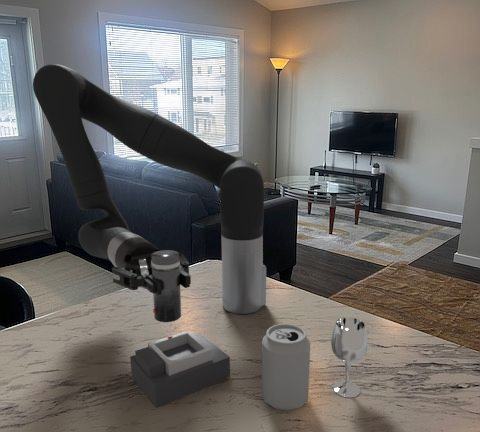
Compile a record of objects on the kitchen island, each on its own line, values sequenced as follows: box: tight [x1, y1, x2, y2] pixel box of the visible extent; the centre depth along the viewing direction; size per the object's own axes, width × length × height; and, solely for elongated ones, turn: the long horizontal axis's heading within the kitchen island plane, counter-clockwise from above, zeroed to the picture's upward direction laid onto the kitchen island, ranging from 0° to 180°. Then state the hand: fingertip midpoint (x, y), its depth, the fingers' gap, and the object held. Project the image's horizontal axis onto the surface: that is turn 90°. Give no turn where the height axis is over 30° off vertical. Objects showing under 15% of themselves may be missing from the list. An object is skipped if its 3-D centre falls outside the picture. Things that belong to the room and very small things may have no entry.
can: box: [261, 323, 311, 412], centre depth 75 cm, size 8×8×12 cm
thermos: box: [151, 249, 182, 323], centre depth 79 cm, size 5×5×11 cm
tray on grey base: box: [129, 329, 231, 408], centre depth 82 cm, size 14×10×6 cm
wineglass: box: [330, 316, 369, 399], centre depth 78 cm, size 6×6×12 cm
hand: (173, 285), depth 77 cm, fingers closed on thermos, 4 cm apart
